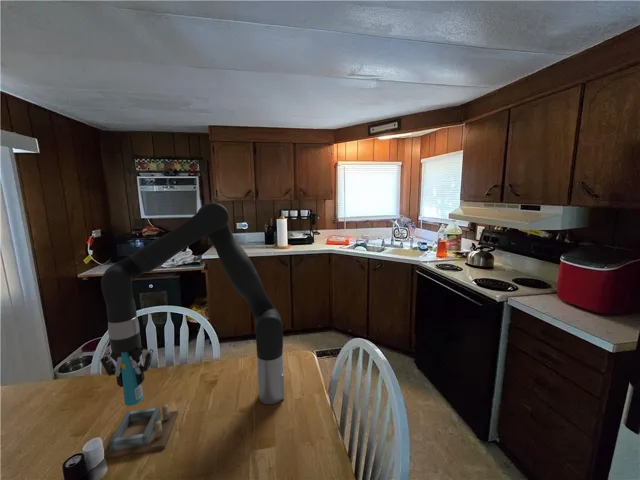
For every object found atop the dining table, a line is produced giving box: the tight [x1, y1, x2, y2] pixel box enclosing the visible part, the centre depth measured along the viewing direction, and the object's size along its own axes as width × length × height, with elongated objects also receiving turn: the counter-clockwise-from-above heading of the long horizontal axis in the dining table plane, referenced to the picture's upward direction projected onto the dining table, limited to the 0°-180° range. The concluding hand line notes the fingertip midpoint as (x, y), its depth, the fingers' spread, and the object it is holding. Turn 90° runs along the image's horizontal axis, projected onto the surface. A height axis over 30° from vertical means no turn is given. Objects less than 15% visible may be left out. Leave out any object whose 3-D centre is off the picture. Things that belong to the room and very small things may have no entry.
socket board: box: [104, 403, 179, 459], centre depth 92 cm, size 16×14×6 cm
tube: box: [121, 352, 144, 407], centre depth 88 cm, size 7×5×19 cm, turn 23°
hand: (131, 384), depth 89 cm, fingers closed on tube, 4 cm apart
